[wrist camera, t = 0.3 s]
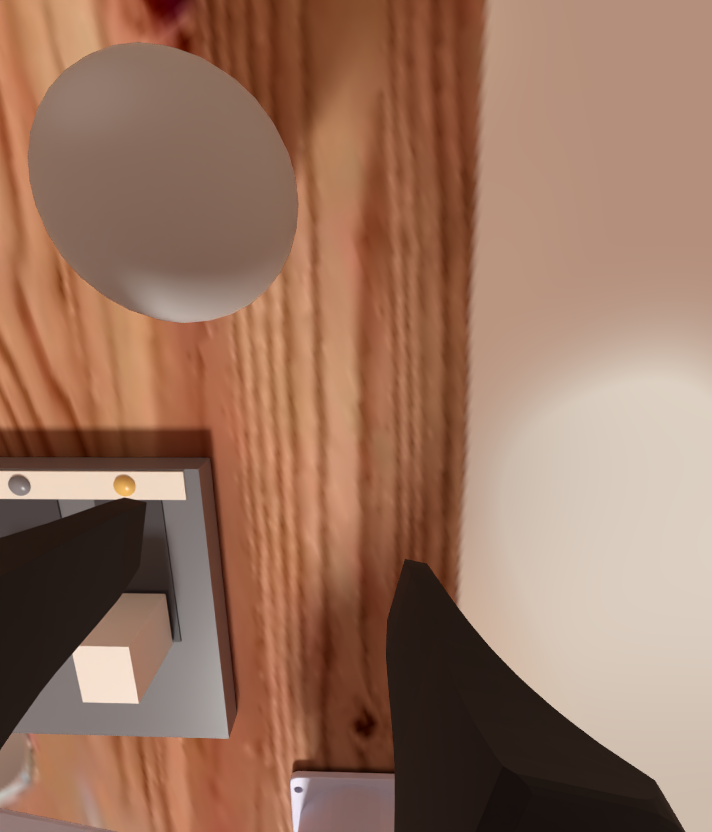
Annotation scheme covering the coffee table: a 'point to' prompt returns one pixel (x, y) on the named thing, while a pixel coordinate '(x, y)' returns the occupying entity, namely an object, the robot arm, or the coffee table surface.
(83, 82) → the lightbulb
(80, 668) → the tab
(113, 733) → the switch bank
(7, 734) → the robot arm
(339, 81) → the coffee table surface
